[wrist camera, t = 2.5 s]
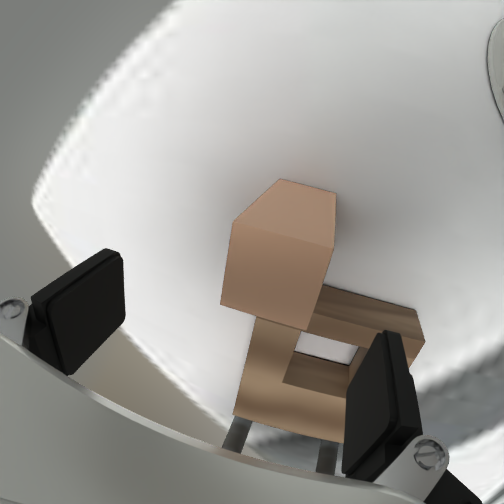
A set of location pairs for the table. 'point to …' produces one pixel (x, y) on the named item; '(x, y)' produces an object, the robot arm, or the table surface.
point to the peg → (281, 253)
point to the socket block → (313, 370)
